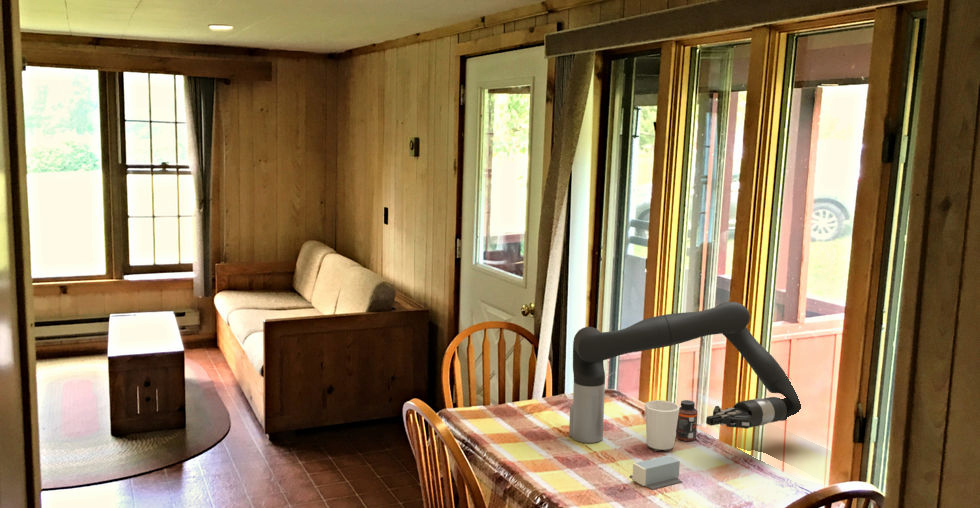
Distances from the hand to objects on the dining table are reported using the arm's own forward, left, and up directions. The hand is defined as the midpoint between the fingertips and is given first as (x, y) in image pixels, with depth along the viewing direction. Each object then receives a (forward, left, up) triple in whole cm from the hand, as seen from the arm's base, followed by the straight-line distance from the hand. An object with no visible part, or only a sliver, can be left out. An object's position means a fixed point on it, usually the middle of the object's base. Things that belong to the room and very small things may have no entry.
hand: (708, 421), depth 222 cm
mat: (-6, -17, -13) cm, 22 cm away
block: (-4, -12, -10) cm, 16 cm away
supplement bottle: (-14, +15, -13) cm, 25 cm away
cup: (-16, +3, -13) cm, 21 cm away
